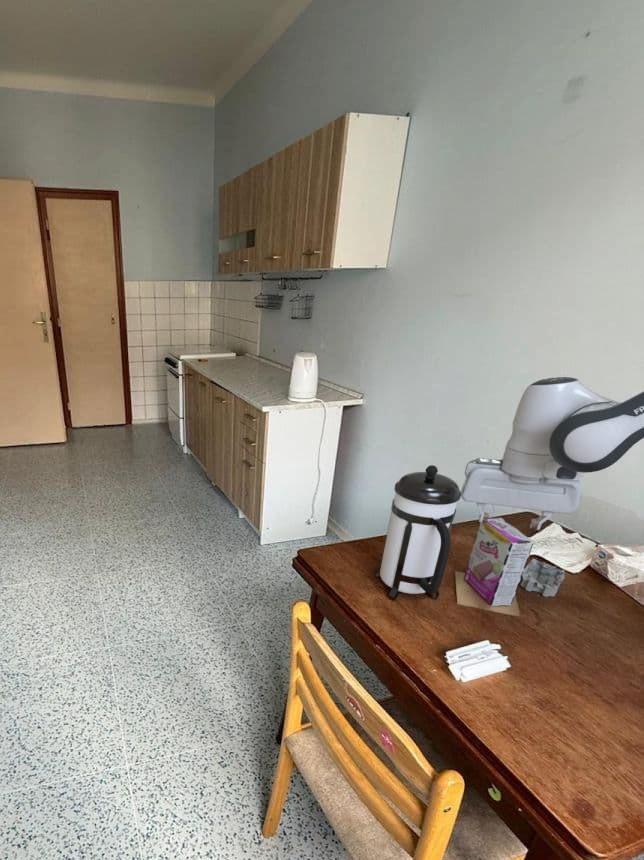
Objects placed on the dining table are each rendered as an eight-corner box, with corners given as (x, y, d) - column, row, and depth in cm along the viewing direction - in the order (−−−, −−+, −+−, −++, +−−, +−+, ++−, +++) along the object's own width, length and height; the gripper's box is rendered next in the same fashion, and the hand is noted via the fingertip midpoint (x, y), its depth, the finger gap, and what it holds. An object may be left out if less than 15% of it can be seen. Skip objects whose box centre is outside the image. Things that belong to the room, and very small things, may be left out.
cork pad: (511, 583, 111) (511, 581, 111) (519, 617, 100) (520, 615, 100) (454, 572, 116) (455, 571, 116) (456, 604, 105) (457, 602, 104)
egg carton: (553, 600, 105) (559, 585, 103) (515, 587, 110) (520, 572, 108) (564, 581, 112) (570, 566, 110) (528, 569, 116) (533, 555, 114)
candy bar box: (461, 579, 112) (479, 517, 105) (481, 578, 112) (501, 516, 105) (489, 607, 102) (512, 541, 95) (512, 606, 103) (536, 540, 95)
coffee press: (356, 587, 111) (377, 466, 97) (391, 563, 120) (415, 449, 106) (429, 621, 100) (465, 490, 85) (461, 591, 109) (499, 468, 95)
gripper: (469, 461, 95) (453, 523, 101) (594, 473, 87) (568, 539, 93) (467, 452, 100) (452, 511, 106) (585, 463, 92) (561, 526, 98)
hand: (508, 525), depth 100 cm, fingers open, 8 cm apart
